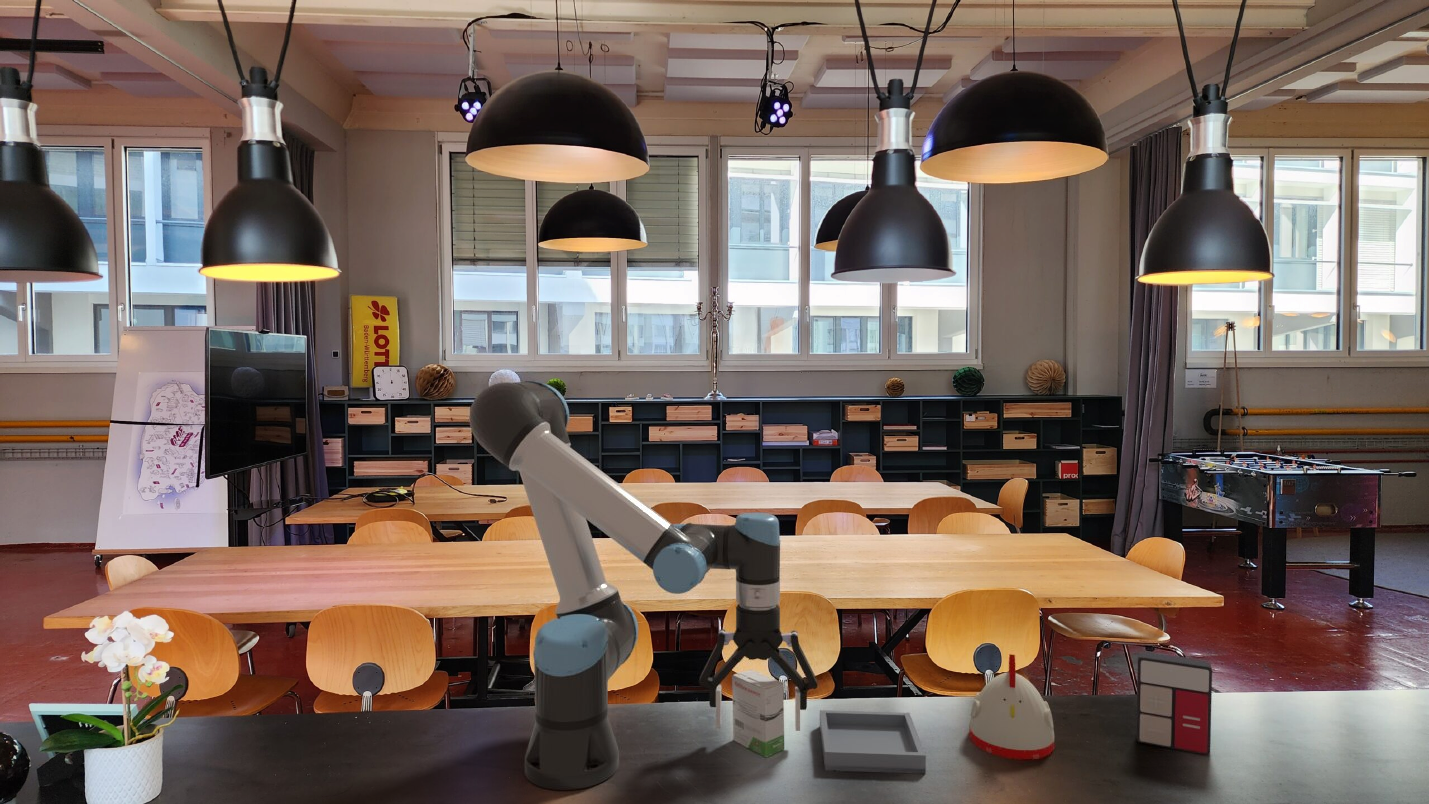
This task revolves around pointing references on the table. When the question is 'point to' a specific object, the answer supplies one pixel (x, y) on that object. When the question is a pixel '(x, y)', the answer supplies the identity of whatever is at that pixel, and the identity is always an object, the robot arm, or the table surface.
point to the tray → (871, 742)
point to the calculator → (1174, 702)
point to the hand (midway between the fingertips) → (758, 726)
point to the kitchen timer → (1012, 718)
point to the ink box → (758, 712)
